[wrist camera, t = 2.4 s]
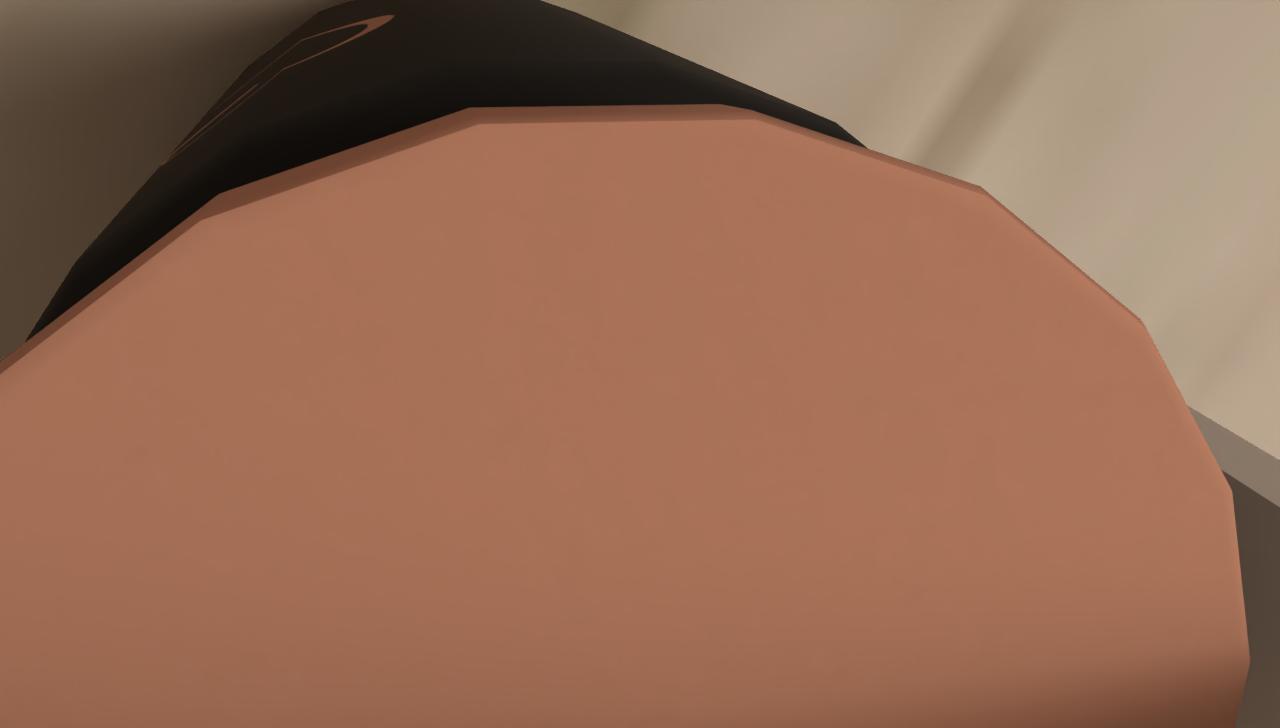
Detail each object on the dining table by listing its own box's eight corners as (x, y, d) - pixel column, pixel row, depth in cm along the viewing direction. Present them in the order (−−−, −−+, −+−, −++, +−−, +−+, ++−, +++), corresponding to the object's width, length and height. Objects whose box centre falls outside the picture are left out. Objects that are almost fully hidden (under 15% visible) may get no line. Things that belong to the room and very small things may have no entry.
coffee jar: (316, -126, 22) (154, -279, 6) (781, 124, 26) (1508, 476, 9) (112, 361, 24) (-422, 1257, 8) (565, 528, 28) (840, 1384, 12)
